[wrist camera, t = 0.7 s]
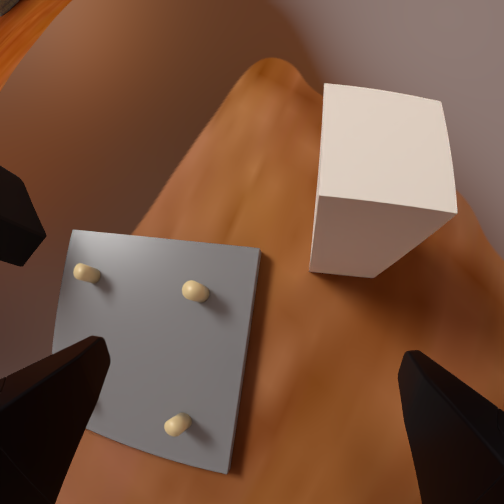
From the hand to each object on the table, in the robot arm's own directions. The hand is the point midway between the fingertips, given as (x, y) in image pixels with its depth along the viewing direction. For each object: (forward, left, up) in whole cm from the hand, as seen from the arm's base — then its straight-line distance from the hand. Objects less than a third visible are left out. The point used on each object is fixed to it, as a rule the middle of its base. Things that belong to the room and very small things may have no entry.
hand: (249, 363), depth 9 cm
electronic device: (+16, +23, -13) cm, 31 cm away
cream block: (+6, -6, -13) cm, 15 cm away
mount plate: (+2, +10, -13) cm, 16 cm away
